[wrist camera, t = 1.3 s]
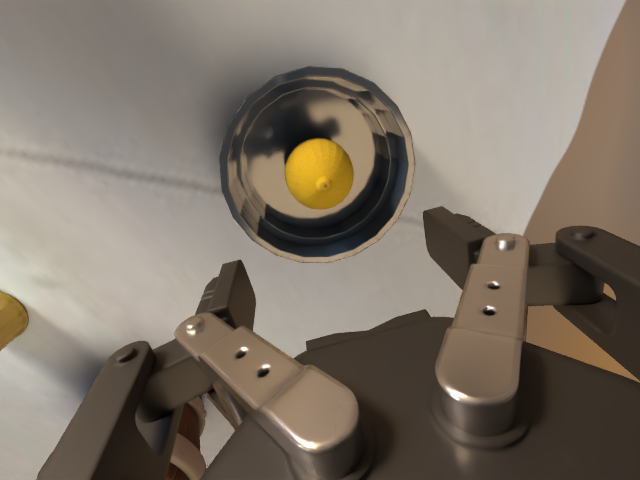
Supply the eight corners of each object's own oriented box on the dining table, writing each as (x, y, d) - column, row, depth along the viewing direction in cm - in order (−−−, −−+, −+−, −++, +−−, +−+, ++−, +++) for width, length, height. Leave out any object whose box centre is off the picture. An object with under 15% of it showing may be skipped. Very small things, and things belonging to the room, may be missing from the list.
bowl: (202, 101, 28) (185, 102, 23) (376, 49, 28) (398, 39, 23) (262, 255, 34) (259, 283, 29) (404, 213, 34) (425, 234, 29)
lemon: (350, 183, 32) (371, 209, 24) (295, 201, 32) (299, 232, 24) (334, 124, 29) (352, 134, 22) (275, 144, 29) (273, 160, 22)
